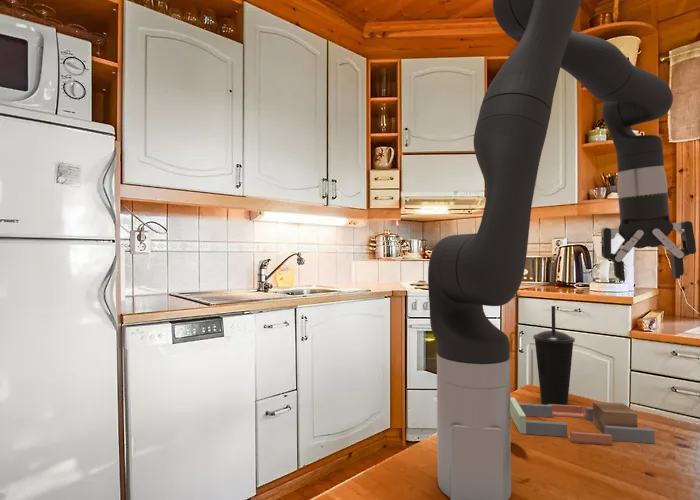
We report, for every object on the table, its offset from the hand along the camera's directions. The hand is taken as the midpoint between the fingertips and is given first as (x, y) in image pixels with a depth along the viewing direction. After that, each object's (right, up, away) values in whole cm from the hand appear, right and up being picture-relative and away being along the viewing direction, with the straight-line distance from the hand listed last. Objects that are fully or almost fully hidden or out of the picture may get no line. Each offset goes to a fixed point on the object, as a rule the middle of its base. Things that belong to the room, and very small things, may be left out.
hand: (648, 279), depth 77 cm
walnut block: (-10, -26, -6) cm, 29 cm away
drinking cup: (-14, -26, +7) cm, 31 cm away
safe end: (-26, -26, -3) cm, 37 cm away
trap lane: (-16, -26, -5) cm, 31 cm away
